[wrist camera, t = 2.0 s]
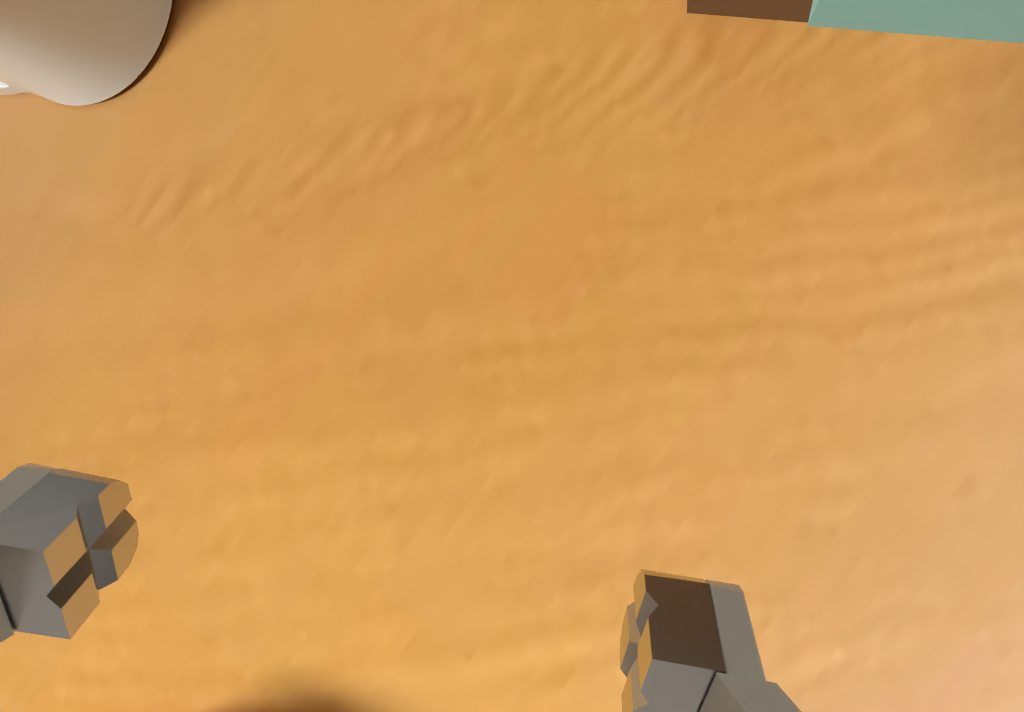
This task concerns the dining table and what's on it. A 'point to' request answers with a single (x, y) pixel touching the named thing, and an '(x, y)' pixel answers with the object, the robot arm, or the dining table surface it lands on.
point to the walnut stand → (754, 8)
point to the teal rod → (925, 17)
